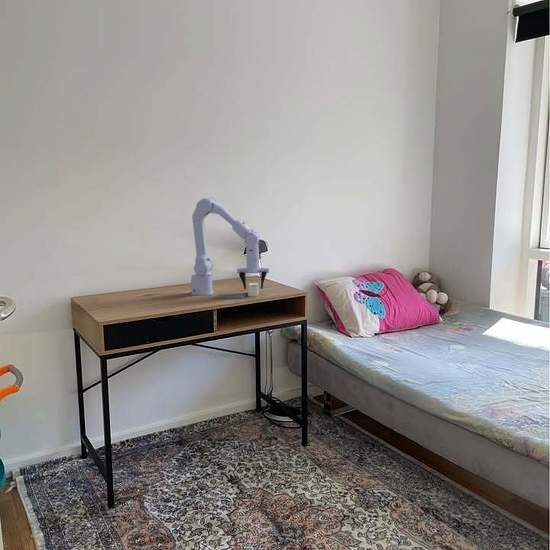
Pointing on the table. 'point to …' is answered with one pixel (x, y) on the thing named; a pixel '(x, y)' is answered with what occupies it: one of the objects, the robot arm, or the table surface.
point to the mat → (231, 295)
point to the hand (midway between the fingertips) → (253, 288)
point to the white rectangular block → (253, 289)
